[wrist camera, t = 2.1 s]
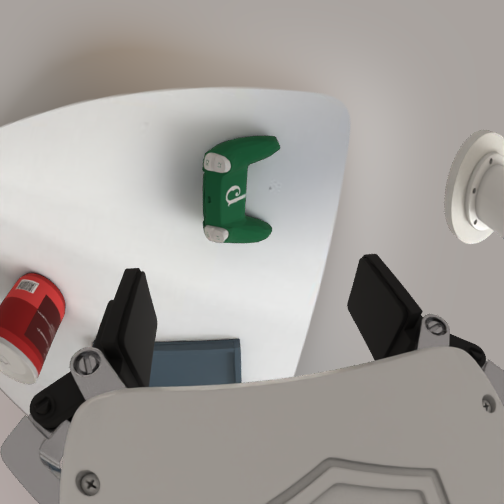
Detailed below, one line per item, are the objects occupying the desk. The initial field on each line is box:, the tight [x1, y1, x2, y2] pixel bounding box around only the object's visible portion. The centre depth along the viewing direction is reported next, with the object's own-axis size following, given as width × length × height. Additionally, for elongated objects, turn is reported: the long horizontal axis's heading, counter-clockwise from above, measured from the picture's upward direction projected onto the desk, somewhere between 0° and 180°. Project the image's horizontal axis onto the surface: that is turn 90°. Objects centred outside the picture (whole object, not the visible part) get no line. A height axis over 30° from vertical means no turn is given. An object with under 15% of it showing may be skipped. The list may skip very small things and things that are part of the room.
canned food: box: [0, 273, 65, 385], centre depth 22 cm, size 8×8×11 cm
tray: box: [92, 339, 241, 387], centre depth 36 cm, size 20×17×2 cm
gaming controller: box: [203, 136, 280, 243], centre depth 22 cm, size 9×4×6 cm
